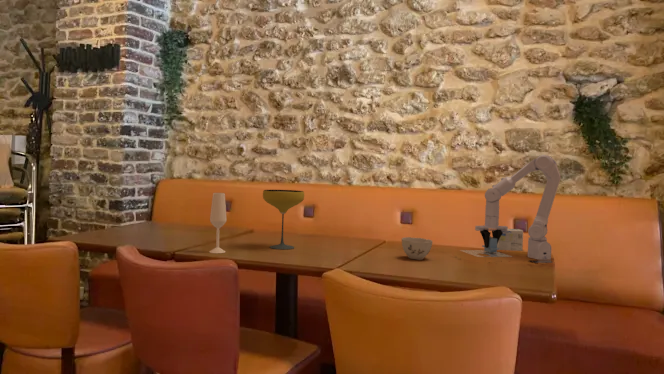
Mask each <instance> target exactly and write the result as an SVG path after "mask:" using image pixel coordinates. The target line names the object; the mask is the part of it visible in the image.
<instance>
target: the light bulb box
mask: <svg viewBox="0 0 664 374" xmlns="http://www.w3.org/2000/svg"><path fill="white" fill-rule="evenodd" d="M502 232H503V234H502V235H501V237H500V239H499V241H498V244H497V248H499V250H498V251H514V252H523V246H524V230H523V229H520V228H508V231H502Z"/></svg>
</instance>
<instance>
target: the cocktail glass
mask: <svg viewBox="0 0 664 374" xmlns="http://www.w3.org/2000/svg"><path fill="white" fill-rule="evenodd" d="M262 199H263V200H264V201H265V202H266V203H268V204H269V205H271V206H273V207H274V208H275V209H277V211H279V213H280V214H281V219H282V220H281V238H280V243H279V244H275V245H269V248H270V249H271V250H293V249H295V246H293V245H288V244H285V241H284V220H285V219H284V218H285V217H284V215H285V214H286V213H287V211H289V210H290V209H292V208H293V207H295V206H297V205H299V204H301V203H302V202H303V201H304V199H305V191H303V190H295V189H291V190H290V189H264V190H263V191H262Z"/></svg>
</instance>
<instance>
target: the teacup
mask: <svg viewBox="0 0 664 374" xmlns="http://www.w3.org/2000/svg"><path fill="white" fill-rule="evenodd" d="M401 246H402V249H403V252H404V253H405V255H406V256H407V257H408V259H411V260H419V261H421V260H423V259H424V258H426V257H427V255H428V254H429V253H430V252H431V250H432V246H433V240H432V239H429V238H428V239H427V238H422V237H409V236H408V237H407V236H406V237H402V238H401Z"/></svg>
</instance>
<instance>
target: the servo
mask: <svg viewBox="0 0 664 374" xmlns="http://www.w3.org/2000/svg"><path fill="white" fill-rule="evenodd" d="M481 247H482V248H483V250H484V251H487V252H490V253H497V252H498V251H500V250H499V248H497V238H493V236H491V235H490V238H489V247H488V248H487V247H485V245H483V244H482V245H481Z"/></svg>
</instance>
